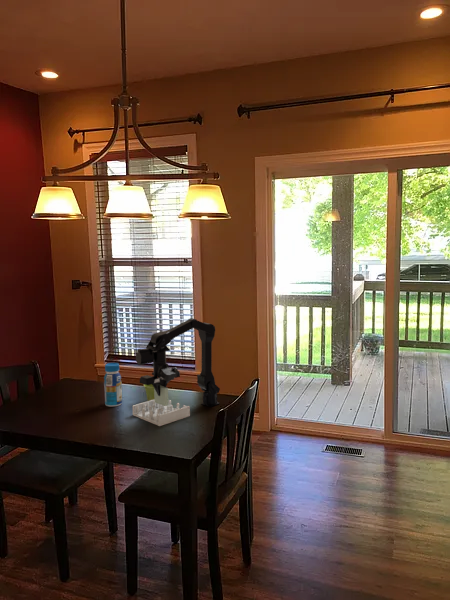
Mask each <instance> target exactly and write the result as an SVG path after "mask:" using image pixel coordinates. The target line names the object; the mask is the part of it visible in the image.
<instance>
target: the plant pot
mask: <svg viewBox="0 0 450 600" xmlns="http://www.w3.org/2000/svg"><path fill="white" fill-rule="evenodd" d="M143 387H144V389H145V394H146V400H147V401H150V400H154V399H155V398H154V387H153V385H152V384H150V385H145V384H143Z"/></svg>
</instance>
